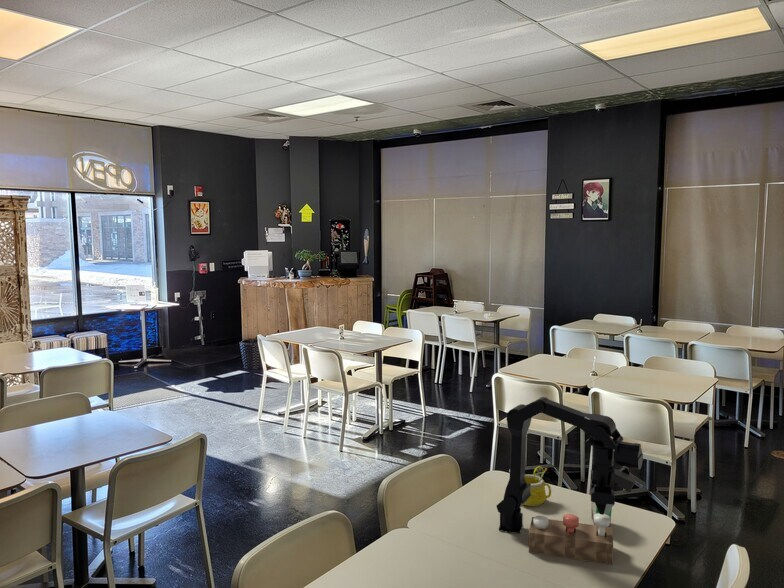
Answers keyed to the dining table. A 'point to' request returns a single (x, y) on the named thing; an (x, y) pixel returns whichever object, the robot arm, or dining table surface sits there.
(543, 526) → the left grey plug
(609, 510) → the food container
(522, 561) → the dining table surface
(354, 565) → the dining table surface
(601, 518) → the right grey plug
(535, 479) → the mug
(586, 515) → the dining table surface
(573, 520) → the salmon round-head knob
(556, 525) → the walnut plug block
